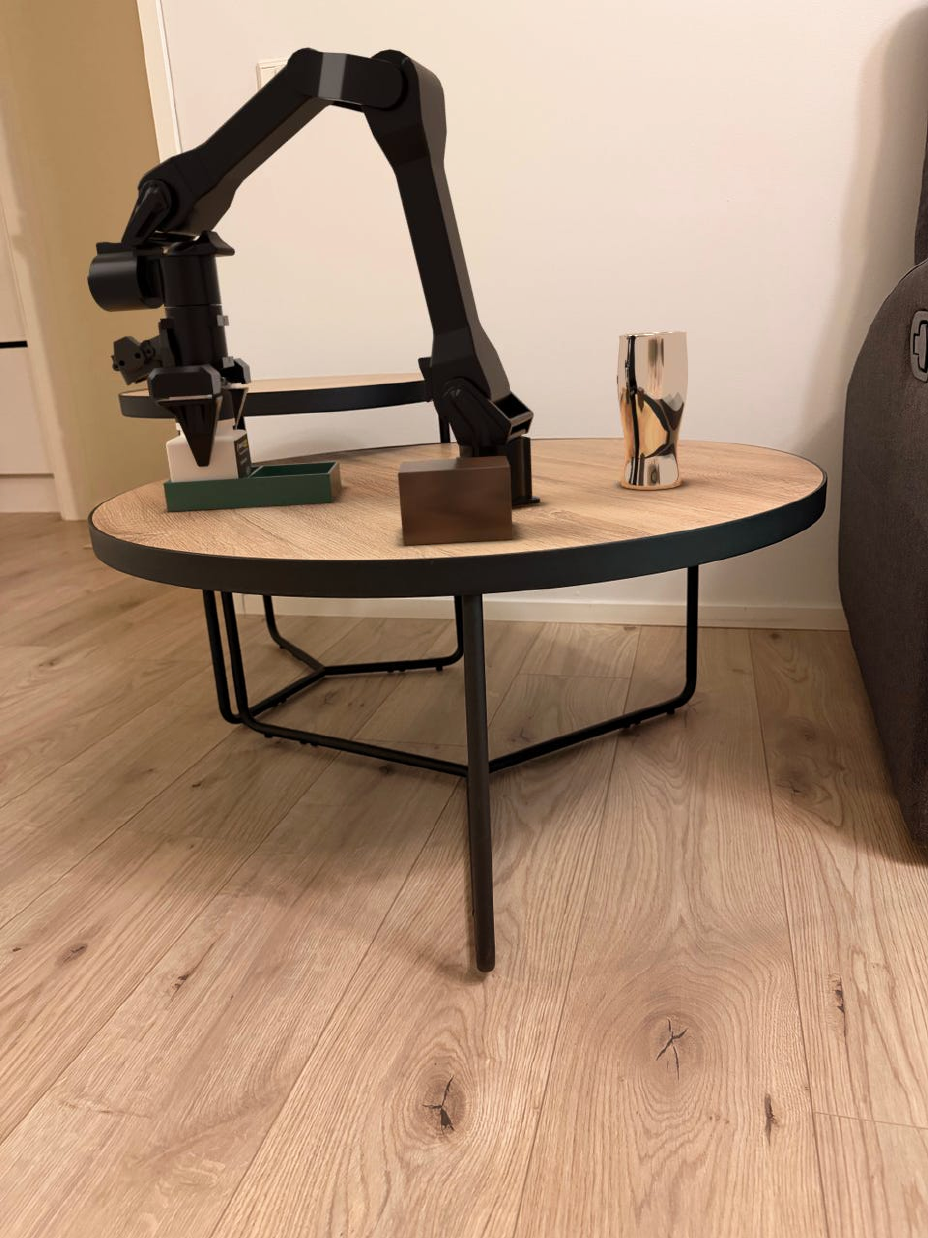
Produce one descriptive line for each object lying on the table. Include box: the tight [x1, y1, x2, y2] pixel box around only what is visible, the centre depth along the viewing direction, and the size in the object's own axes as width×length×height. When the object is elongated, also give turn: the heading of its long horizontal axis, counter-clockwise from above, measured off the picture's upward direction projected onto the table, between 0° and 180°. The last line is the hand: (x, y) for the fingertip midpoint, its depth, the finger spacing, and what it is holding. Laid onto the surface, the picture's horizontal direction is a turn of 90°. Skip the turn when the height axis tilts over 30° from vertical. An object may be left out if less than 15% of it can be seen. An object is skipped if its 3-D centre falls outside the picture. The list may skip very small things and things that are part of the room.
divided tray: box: [163, 461, 342, 513], centre depth 99 cm, size 17×9×3 cm, turn 91°
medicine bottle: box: [165, 388, 252, 482], centre depth 98 cm, size 7×7×12 cm
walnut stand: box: [397, 456, 514, 546], centre depth 77 cm, size 9×6×6 cm, turn 91°
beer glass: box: [616, 330, 689, 491], centre depth 93 cm, size 7×7×15 cm
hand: (214, 459), depth 99 cm, fingers open, 9 cm apart
